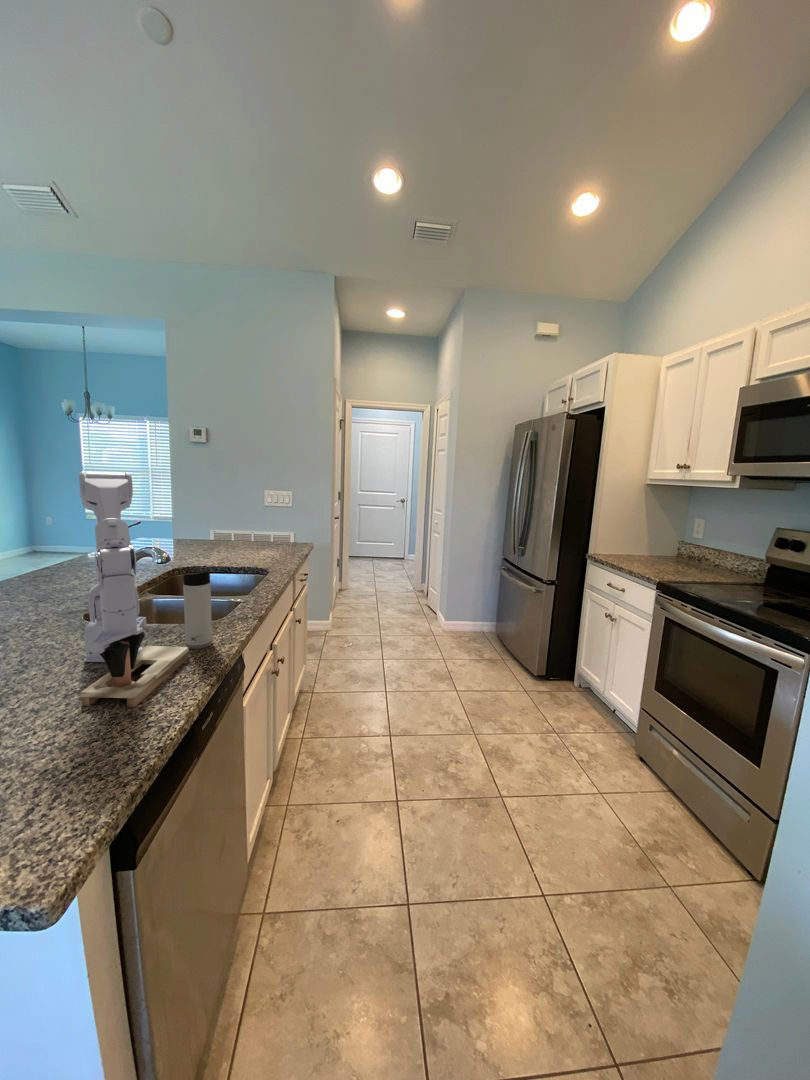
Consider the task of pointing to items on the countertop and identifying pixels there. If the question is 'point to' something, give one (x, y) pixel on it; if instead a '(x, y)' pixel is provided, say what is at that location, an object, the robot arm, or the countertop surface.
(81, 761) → the countertop surface
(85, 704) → the keyhole plate
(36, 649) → the countertop surface
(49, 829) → the countertop surface
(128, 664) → the terracotta peg
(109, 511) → the robot arm
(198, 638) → the travel mug
